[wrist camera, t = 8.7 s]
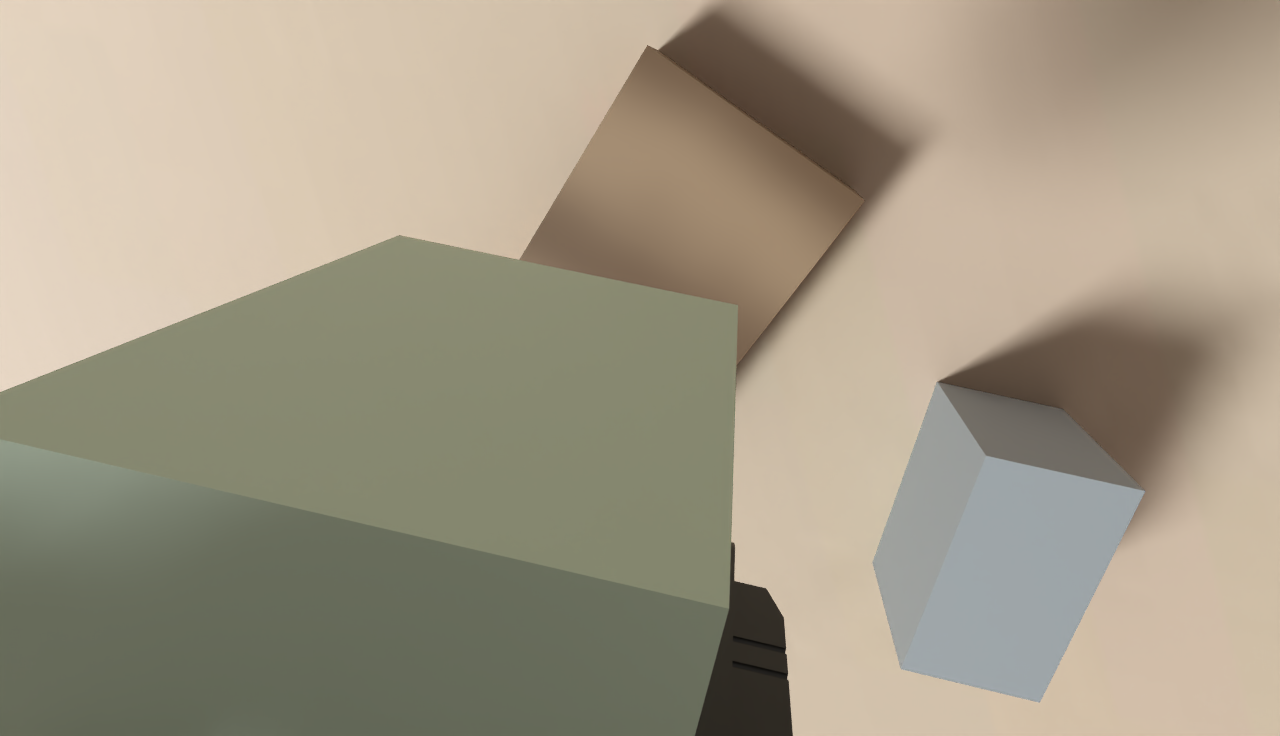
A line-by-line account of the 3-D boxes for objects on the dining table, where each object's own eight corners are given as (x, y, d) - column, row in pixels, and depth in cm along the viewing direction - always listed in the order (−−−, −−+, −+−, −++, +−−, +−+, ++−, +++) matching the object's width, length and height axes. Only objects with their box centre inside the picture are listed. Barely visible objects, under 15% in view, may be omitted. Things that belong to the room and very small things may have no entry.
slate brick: (936, 381, 27) (986, 455, 21) (1061, 408, 27) (1145, 491, 21) (872, 561, 30) (900, 668, 24) (984, 587, 29) (1039, 702, 24)
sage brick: (398, 235, 10) (-75, 422, 4) (737, 304, 9) (729, 607, 4) (372, 698, 13) (73, 1181, 7) (631, 762, 12) (536, 1319, 7)
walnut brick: (659, 51, 25) (647, 45, 22) (852, 188, 25) (865, 200, 22) (490, 330, 29) (462, 355, 26) (658, 442, 30) (649, 478, 27)
